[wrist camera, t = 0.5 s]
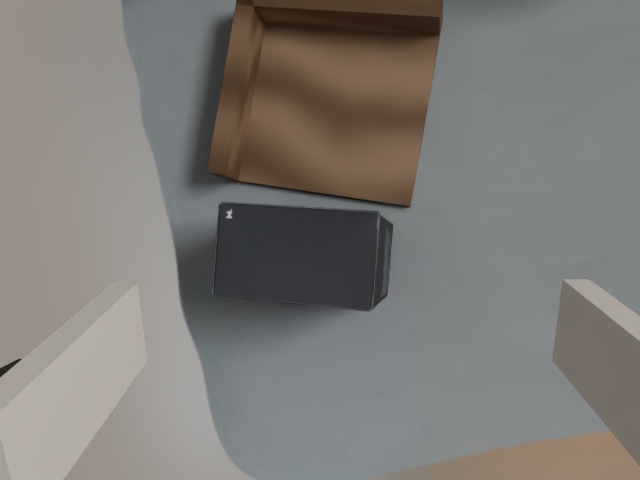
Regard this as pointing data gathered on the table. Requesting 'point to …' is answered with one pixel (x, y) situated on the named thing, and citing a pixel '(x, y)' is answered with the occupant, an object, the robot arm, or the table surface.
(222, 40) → the table surface
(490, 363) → the table surface
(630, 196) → the table surface
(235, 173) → the corner tray
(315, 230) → the small box
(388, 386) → the table surface
